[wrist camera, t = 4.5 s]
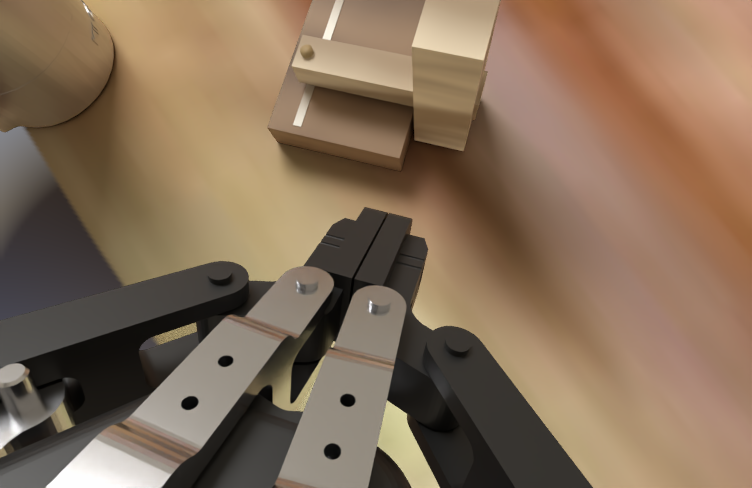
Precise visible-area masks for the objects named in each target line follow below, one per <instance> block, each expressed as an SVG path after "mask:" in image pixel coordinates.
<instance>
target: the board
mask: <svg viewBox="0 0 752 488" xmlns="http://www.w3.org/2000/svg"><path fill="white" fill-rule="evenodd" d="M425 1H426V0H312V3H311V5H310V8H309V11H308V14H307V17H306V20H305V22H304V25H303V28H302V31H301V34H300V36H299V39H298V42H297V45H296V48H295V51H294V53H293V56H292V59H291V62H290V65H289V68H288V70H287V73H286V76H285V79H284V82H283V84H282V87H281V90H280V93H279V96H278V99H277V101H276V104H275V107H274V110H273V113H272V116H271V118H270V121H269V124H268V127H267V128H268V129H269V131H270V132H271V134H272V135H273V136H274V138H275V139H276V141H277V142H279V143H283V144H287V145H292V146H296V147H300V148H304V149H309V150H313V151H317V152H321V153H325V154H330V155H334V156H338V157H342V158H346V159H351V160H355V161H359V162H363V163H368V164H372V165H376V166H380V167H384V168H389V169H393V170H397V171H401V170H402V166H403V163H404V159H405V156H406V152H407V149H408V145H409V142H410V139H411V135H412V132H413V128H414V108H413V107H412V106H407V105H403V104H398V103H393V102H389V101H384V100H379V99H375V98H370V97H365V96H361V95H356V94H352V93H347V92H342V91H338V90H333V89H328V88H324V87H319V86H314V85H310V84H305V83H300V82H299V81H298V79H297V77H296V75H295V73H294V71H293V68H292V63H293V60H294V58H295V55H296V52H297V49H298V46H299V43H300V41H301V38H302V35H307V36H312V37H317V38H322V39H327V40H332V41H337V42H342V43H347V44H352V45H357V46H362V47H367V48H372V49H377V50H382V51H387V52H392V53H397V54H402V55H407V56H412V44H413V40H414V37H415V34H416V30H417V27H418V24H419V20H420V17H421V14H422V11H423V7H424V4H425Z"/></svg>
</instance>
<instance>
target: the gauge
mask: <svg viewBox="0 0 752 488" xmlns="http://www.w3.org/2000/svg"><path fill="white" fill-rule="evenodd" d="M500 1H501V0H426V1H425V4H424V7H423V11H422V14H421V17H420V20H419V24H418V27H417V30H416V34H415V37H414V40H413V44H412V56H407V55H402V54H397V53H392V52H387V51H382V50H377V49H372V48H367V47H362V46H357V45H352V44H347V43H342V42H337V41H332V40H327V39H322V38H317V37H312V36H307V35H302V38H301V41H300V43H299V46H298V49H297V52H296V55H295V58H294V60H293V63H292V68H293V71H294V73H295V75H296V77H297V79H298V81H299V82H300V83H305V84H310V85H314V86H319V87H324V88H328V89H333V90H338V91H342V92H347V93H352V94H356V95H361V96H365V97H370V98H375V99H379V100H384V101H389V102H393V103H398V104H403V105H407V106H412V107H413V108H414V140H416V141H420V142H425V143H429V144H434V145H438V146H442V147H447V148H451V149H456V150H460V151H464V148H465V144H466V141H467V137H468V133H469V129H470V126H471V122H472V120H475V118H476V115H477V111H478V107H479V103H480V99H481V96H482V92H483V88H484V84H485V80H486V76H487V71H484V70H485V66H486V62H487V57H488V53H489V49H490V44H491V40H492V36H493V31H494V27H495V23H496V19H497V14H498V10H499V6H500Z"/></svg>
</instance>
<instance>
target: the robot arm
mask: <svg viewBox="0 0 752 488" xmlns="http://www.w3.org/2000/svg"><path fill="white" fill-rule="evenodd" d="M113 59H114V50H113V42H112V39H111V36H110V33H109V31H108V30H107V28H106V27H105V25H104V24H103V22H102V21H101V20H100V19H99V18H98V17H97V16H96V15H95V14H94V13H93V12H92V11H91V10H90V9H89V8H88V6H87V5H86V4H85V3H84V2H83V1H82V0H0V131H2V132H7V131H9V130H11V129H13V128H15V127H18V126H25V127H35V128H38V127H47V126H53V125H56V124H59V123H62V122H65V121H67V120H69V119H71V118H72V117H74V116H76V115H78V114H79V113H81V112H82V111H83V110H84V109H86V108H87V107H88V106H89V105H90V104H91V103H92V102H93V101H94V100H95V99H96V98H97V97H98V95H99V94H100V93H101V91H102V89H103V88H104V86H105V85H106V83H107V81H108V78H109V76H110V73H111V70H112V65H113ZM411 226H412V219H411V218H407V217H403V216H399V215H395V214H391V213H389V214H388V213H387V212H383V211H379V210H375V209H371V208H367V207H365V208H364V209H363V211H362V212H361V214H360V215H359V217H358V218H357V220H356V221H354V220H350V219H346V218H344V219H342V220H341V221H339V222H337V223H335V224H333V225H332V226H331V228H330V229H329V231H328V232H327V234H326V236H324V238H323V239H322V241H321V243H319V245H318V246H317V248H316V249H315V250H314V252H313V253H312V255H311V256H310V257H309V259H308V260H307V262H306V263H305V265H304V266H301V267H296V268H292V269H290V270H288V271H287V272H285V273H284V274H283V275H282V276H281V277H280V278H279V279H278V281H274V282H266V281H249V276H248V272H247V271H246V269H245V268H244V267H242V266H241V265H239V264H236V263H233V262H226V261H219V262H212V263H208V264H204V265H201V266H197V267H193V268H190V269H186V270H183V271H179V272H175V273H172V274H168V275H164V276H161V277H157V278H153V279H150V280H146V281H142V282H139V283H135V284H131V285H128V286H124V287H121V288H117V289H113V290H110V291H106V292H102V293H99V294H96V295H92V296H88V297H84V298H80V299H77V300H73V301H70V302H66V303H62V304H58V305H55V306H51V307H48V308H44V309H40V310H37V311H33V312H29V313H26V314H22V315H18V316H15V317H11V318H7V319H4V320H0V488H411V486H410V484H409V482H408V480H407V479H406V477H405V475H404V473H403V472H402V471H401V469H400V468H399V467H398V465H397V464H396V463H395V462H394V461H393V460H392V459H391V458H390V457H389V456H388V455H387V454H386V453H385V452H384V451H382V450H381V449H380V448H379V447H377V443H378V439H379V434H380V429H381V425H382V420H383V415H384V411H385V406H386V402H387V400H388V401H389V402H391V403H392V404H394V405H395V406H397V407H398V408H399V409H401V410H402V411H404V412H405V413H407V421H408V425H409V427H410V429H411V431H412V433H413V435H414V437H415V439H416V441H417V443H418V445H419V447H420V449H421V451H422V453H423V455H424V457H425V459H426V461H427V463H428V465H429V467H430V469H431V470H432V472H433V474H434V476H435V478H436V480H437V482H438V484H439V486H440V488H593V487H592V486H591V485H590V483H589V482H588V481H587V479H586V478H585V477H584V475H583V474H582V473H581V471H580V470H579V469H578V468H577V466H576V465H575V464H574V462H573V461H572V460H571V458H570V457H569V456H568V454H567V453H566V452H565V451H564V449H563V448H562V447H561V445H560V444H559V443H558V441H557V440H556V439H555V437H554V436H553V435H552V434H551V432H550V431H549V430H548V428H547V427H546V426H545V424H544V423H543V422H542V420H541V419H540V418H539V417H538V415H537V414H536V413H535V411H534V410H533V409H532V407H531V406H530V405H529V403H528V402H527V401H526V400H525V398H524V397H523V396H522V394H521V393H520V392H519V390H518V389H517V388H516V386H515V385H514V384H513V383H512V381H511V380H510V379H509V377H508V376H507V375H506V373H505V372H504V371H503V369H502V368H501V367H500V366H499V364H498V363H497V362H496V360H495V359H494V358H493V356H492V355H491V354H490V352H489V351H488V350H487V349H486V347H485V346H484V345H483V343H482V342H481V341H480V340H479V339H478V338H477V337H476V336H475V335H474V334H472V333H471V332H469V331H467V330H465V329H462V328H459V327H454V326H444V327H440V328H437V329H435V330H431V329H429V328H428V327H426V326H424V325H423V324H422V323H420V322H419V321H418V320H417V319H416V318H415V316H414V315H413V313H412V308H413V305H414V302H415V299H416V296H417V293H418V290H419V286H420V282H421V278H422V273H423V269H424V265H425V260H426V256H427V252H428V248H427V245H426V242H425V239H424V238H420V237H417V236H413V235H410V231H411ZM194 322H196V325H197V332H195V333H192V334H189V335H187V336H184V337H181V338H178V339H175V340H172V341H169V342H167V343H164V344H161V345H158V346H155V347H153V348H149V349H146V350H139V348H140V346H141V345H142V344H143V343H144V342H145V341H146V340H147V339H149V338H151V337H153V336H156V335H159V334H162V333H165V332H168V331H171V330H174V329H177V328H180V327H183V326H186V325H189V324H192V323H194ZM333 341H335V345H334V347H333V348H331V345H332V343H333ZM315 379H316V381H315ZM314 381H315V383H314ZM313 383H314V386H313V388H312V391H311V393H310V396H309V399H308V401H307V404H306V406H305V409H304V412H299V411H297V409H298V407H299V406H300V404H301V402H302V401H303V399H304V397H305V396H306V394H307V393H308V391H309V389H310V388H311V386H312V384H313Z"/></svg>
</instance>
